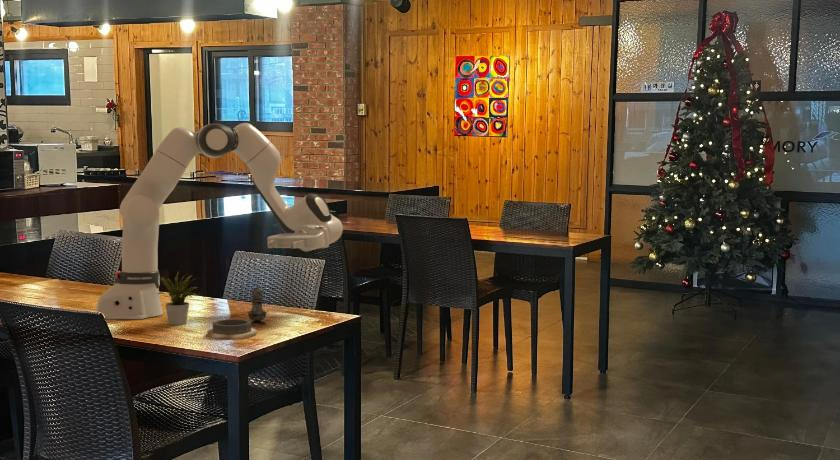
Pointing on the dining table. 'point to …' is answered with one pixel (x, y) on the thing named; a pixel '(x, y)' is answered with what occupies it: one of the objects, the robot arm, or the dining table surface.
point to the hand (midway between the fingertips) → (280, 245)
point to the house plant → (177, 300)
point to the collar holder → (231, 329)
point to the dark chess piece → (257, 308)
